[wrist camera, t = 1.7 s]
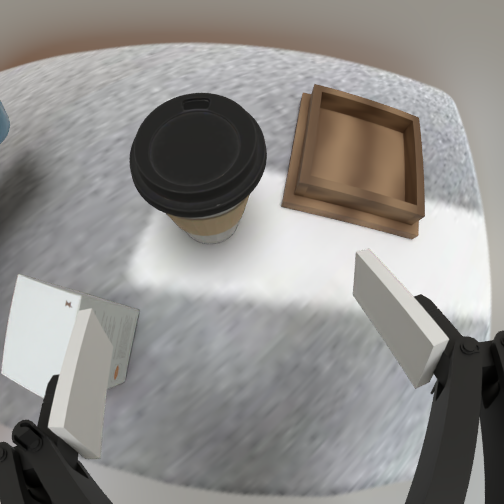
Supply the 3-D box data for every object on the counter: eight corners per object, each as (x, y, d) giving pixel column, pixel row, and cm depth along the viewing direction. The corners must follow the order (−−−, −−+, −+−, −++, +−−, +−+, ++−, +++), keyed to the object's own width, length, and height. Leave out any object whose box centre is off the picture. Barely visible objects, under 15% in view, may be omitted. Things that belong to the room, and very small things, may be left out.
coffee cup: (228, 165, 35) (225, 68, 20) (272, 234, 33) (298, 161, 18) (153, 204, 33) (105, 122, 19) (192, 279, 31) (155, 234, 17)
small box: (89, 294, 30) (17, 270, 18) (140, 309, 30) (83, 294, 18) (74, 364, 28) (-2, 374, 16) (125, 383, 28) (62, 410, 16)
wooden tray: (281, 206, 34) (287, 188, 29) (301, 99, 38) (307, 76, 33) (412, 239, 34) (431, 227, 29) (410, 132, 38) (424, 114, 33)
